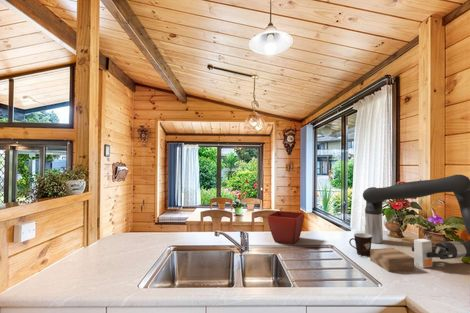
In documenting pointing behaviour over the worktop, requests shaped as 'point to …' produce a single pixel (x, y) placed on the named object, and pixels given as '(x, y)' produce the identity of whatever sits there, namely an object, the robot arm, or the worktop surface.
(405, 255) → the walnut block
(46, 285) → the worktop surface
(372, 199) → the robot arm
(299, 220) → the plant pot
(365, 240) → the coffee mug
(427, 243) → the skincare box
